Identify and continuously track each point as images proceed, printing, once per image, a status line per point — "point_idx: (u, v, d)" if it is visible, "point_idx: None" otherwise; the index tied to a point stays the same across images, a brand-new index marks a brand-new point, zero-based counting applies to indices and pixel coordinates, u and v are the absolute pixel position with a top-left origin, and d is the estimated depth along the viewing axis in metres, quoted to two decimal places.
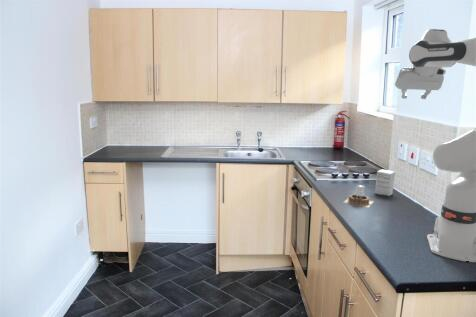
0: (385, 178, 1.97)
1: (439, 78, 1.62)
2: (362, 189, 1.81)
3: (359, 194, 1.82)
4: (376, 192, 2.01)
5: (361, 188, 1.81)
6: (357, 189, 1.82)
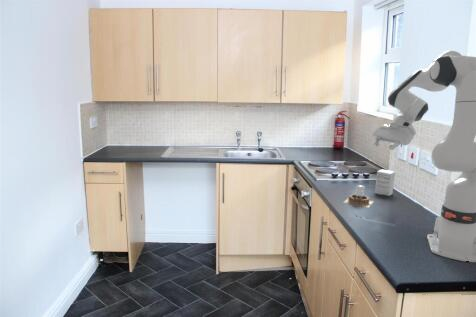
0: (385, 178, 1.97)
1: (406, 131, 1.79)
2: (362, 189, 1.81)
3: (359, 194, 1.82)
4: (376, 192, 2.01)
5: (361, 188, 1.81)
6: (357, 189, 1.82)
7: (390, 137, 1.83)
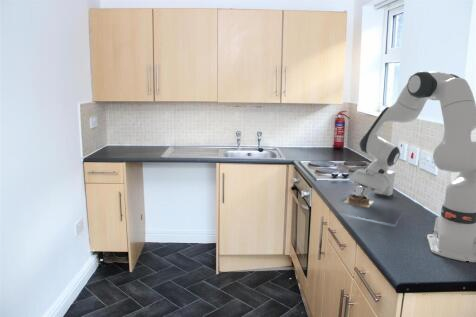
0: None
1: (381, 179, 1.78)
2: (362, 189, 1.81)
3: (359, 194, 1.82)
4: (376, 192, 2.01)
5: (361, 188, 1.81)
6: (357, 189, 1.82)
7: (366, 184, 1.82)
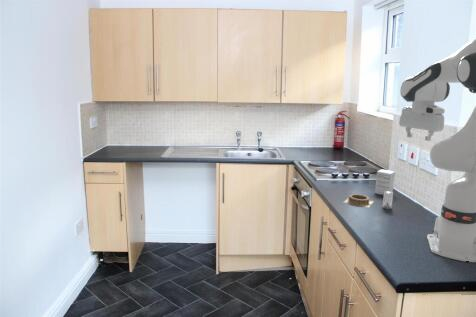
0: (385, 178, 1.97)
1: (433, 118, 1.61)
2: (391, 195, 1.75)
3: (388, 201, 1.75)
4: (376, 192, 2.01)
5: (390, 194, 1.75)
6: (385, 195, 1.76)
7: (420, 127, 1.67)
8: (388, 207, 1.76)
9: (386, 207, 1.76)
